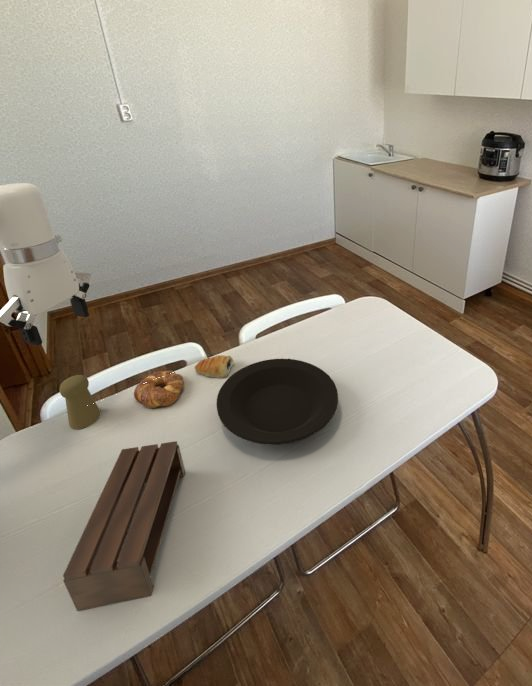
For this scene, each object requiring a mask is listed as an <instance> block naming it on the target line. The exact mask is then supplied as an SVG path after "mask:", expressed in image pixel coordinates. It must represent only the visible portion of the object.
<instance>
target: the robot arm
mask: <svg viewBox="0 0 532 686" xmlns="http://www.w3.org/2000/svg"><path fill="white" fill-rule="evenodd" d="M62 241H63V238H62V237H61V236H60V235H59V234H57V235H55V232H54V228H53V226H52V223H51V220H50V217H49V214H48V211H47V208H46V205H45V202H44V198H43V196H42V192H41V190H40V189H39V187H38V186H37V185H35V184H33V183H29V182H15V183H7V184H1V185H0V245H1V247H2V251H3V253H4V255H5V258H6V260H7V261H6V262H7V263H5V264H3V266H2V267H3V280H4V286H5V290H6V294H7V297H8V298H7V299H8V302H7V303H6V304H5V305H4V306H3V307H2V308H1V309H0V323H2V324H4V325H5V326H6V327H12V328H16V329H19V331H20V334H21V337H22V339H23V341H24V342H25V343H26V344H28V345H31V346H36V347H37V346H38V347H39V346H41V345H42V344H43V339H42V337H41V334H40V331H39V329H38V326H36V325H33V324H34V323H35V321H36V318H37V315H40V314H42V313H44V312H45V311H48V310H49V309H51V308H53V307H55V306H57V305H59V304H61V303H63V302H65V301H67V300H68V299H69V302H70V305H71V308H72V311H73V314H74V316H75V317H81V318H88V317H89V316H90V314H89V307H88V305H87V301H86V299H87V297H88V294H87V292H88V290H89V288H90V281H91V273H90V272H82V271H81V272H79V271H78V272H76V271H74V268H73V265H72V263H71V262H70V260H69V258H68V256H67V255H66V253H65V252H64V251H63V249H62V248H60V246H59V243H60V242H62ZM78 280H79V281H78ZM13 313H16V314H17V317H16V319H15V318H14V317H13V316H12V315H13Z"/></svg>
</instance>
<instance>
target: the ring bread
mask: <svg viewBox="0 0 532 686" xmlns="http://www.w3.org/2000/svg"><path fill="white" fill-rule="evenodd" d="M172 372H174V373H172ZM170 373H171V374H170ZM162 376H164V377H162ZM158 377H160V378H158ZM156 378H157V379H156ZM153 379H154V380H153ZM145 382H147V383H145ZM143 383H145V384H143ZM183 390H184V376H183V375H181V374H180V373H176V371H174V370H164V371H163V370H160V371H155V372H152V373H151V374H149V375H148V376H146V377H145V378H143V379H142V380H140V382H138V384H136V386H135V389H134V391H133V397H134V399H135V401H136V402H138V403H140V404H142V405H143V406H144V407H145V408H148V409H149V408H150V409H155V408H159V407H167V406H171V404H173V403H175V402H176V401H177V400H178V398H179V397H180V395H181V394H180V393H181V392H182V391H183Z"/></svg>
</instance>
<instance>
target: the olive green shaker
mask: <svg viewBox="0 0 532 686" xmlns="http://www.w3.org/2000/svg"><path fill="white" fill-rule="evenodd" d="M89 385H90V382H89V379H88V378H87V376H85V375H83V374H75V375H72V376H70V377H68V378H66V379H65V380H63V381H62V382H61V383H60V385H59V388H58V389H59V394H60V396H61V398H64V399H65V406H66V412H67V420H68V426H69V429H71V430H82V429H85V428H88V427H89V426H92V425H93V424H94V423H96V422H97V421H98V419H99V418H100V417H101V415H100V411H101V410H100V408H99V406H98V405H97V403H96V401H95V399H94V397H93V395H92V394H91V392H90V390H89ZM93 403H94V404H93ZM87 405H88V406H87ZM99 416H100V417H99ZM87 426H88V427H87ZM84 427H85V428H84ZM81 428H82V429H81Z"/></svg>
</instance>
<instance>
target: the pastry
mask: <svg viewBox="0 0 532 686" xmlns="http://www.w3.org/2000/svg"><path fill="white" fill-rule="evenodd" d="M233 366H234V359H233V357H232V356H231V355H223V354H221V355H220V354H218V356H217V355H215V356H213V357H212V356H211V357H207V358H204V359H201V360H199V361H198V362H197V363H196V364H195V366H194V370H195V372H196V373H197V374H199V375H201V376H205V377H206V376H207V377H206V378H214V377H215V378H218V379H222V378H226V377H228V376H229V374H230V371H231V368H232V367H233Z"/></svg>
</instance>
